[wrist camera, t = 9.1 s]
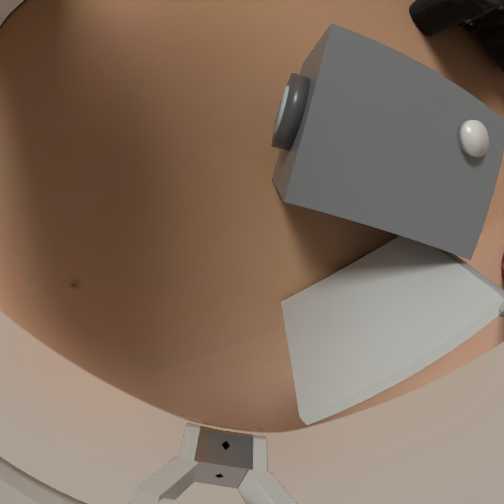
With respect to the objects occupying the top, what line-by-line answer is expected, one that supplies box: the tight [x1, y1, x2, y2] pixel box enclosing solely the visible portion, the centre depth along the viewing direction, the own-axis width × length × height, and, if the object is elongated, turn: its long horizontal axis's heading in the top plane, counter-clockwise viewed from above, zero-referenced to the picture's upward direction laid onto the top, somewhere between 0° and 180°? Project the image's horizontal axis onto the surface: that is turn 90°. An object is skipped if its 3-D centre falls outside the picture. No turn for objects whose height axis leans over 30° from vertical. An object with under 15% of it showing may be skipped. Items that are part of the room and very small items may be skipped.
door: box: [281, 236, 504, 425], centre depth 18 cm, size 13×2×12 cm, turn 121°
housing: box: [272, 24, 504, 260], centre depth 16 cm, size 13×9×9 cm
